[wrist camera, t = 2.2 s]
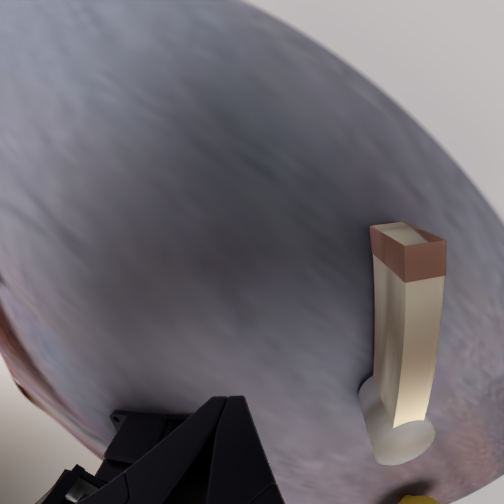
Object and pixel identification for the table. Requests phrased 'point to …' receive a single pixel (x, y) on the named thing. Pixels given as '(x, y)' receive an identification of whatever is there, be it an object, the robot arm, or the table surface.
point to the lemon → (417, 500)
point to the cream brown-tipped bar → (403, 340)
